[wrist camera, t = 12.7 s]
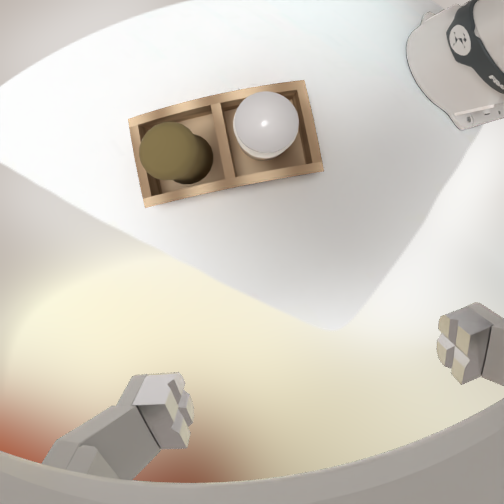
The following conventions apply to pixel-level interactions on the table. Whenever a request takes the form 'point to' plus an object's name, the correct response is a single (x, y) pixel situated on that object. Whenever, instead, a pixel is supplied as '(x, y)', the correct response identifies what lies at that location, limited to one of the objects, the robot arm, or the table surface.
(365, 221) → the table surface
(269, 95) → the salt shaker
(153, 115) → the caddy
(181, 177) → the cork
